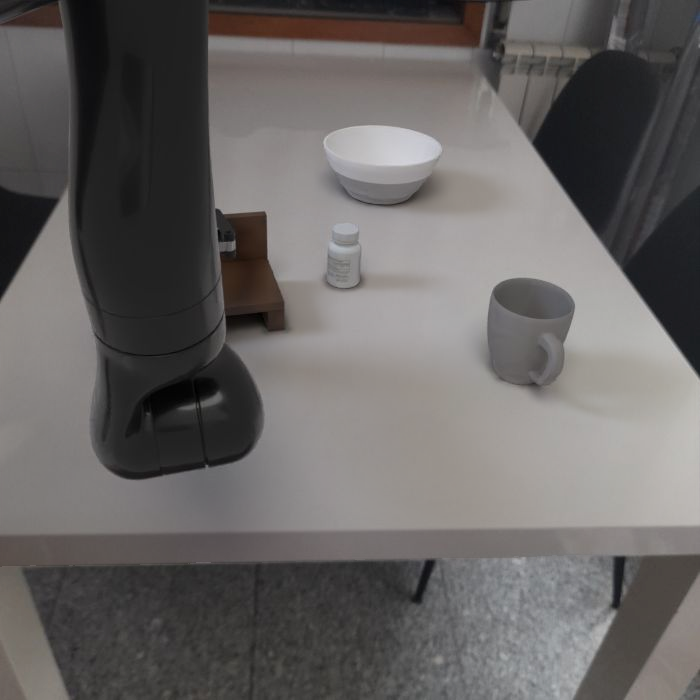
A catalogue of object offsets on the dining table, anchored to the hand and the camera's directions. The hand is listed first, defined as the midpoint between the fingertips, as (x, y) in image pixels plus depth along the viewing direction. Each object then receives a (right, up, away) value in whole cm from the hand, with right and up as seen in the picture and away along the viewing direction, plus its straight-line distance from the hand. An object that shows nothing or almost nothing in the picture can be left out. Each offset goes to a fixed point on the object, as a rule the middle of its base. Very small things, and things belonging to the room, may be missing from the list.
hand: (153, 205), depth 71 cm
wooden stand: (0, -10, +17) cm, 20 cm away
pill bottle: (+19, -5, +25) cm, 32 cm away
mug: (+39, -18, +9) cm, 44 cm away
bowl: (+24, +12, +50) cm, 57 cm away
